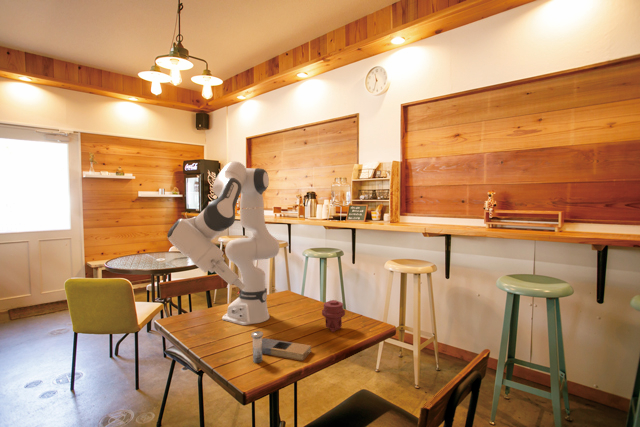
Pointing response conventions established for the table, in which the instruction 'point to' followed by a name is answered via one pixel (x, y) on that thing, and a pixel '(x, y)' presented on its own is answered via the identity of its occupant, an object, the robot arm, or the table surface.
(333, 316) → the mechanical component
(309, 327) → the table surface
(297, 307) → the table surface
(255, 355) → the metal peg
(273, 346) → the two-tone slotted plate
